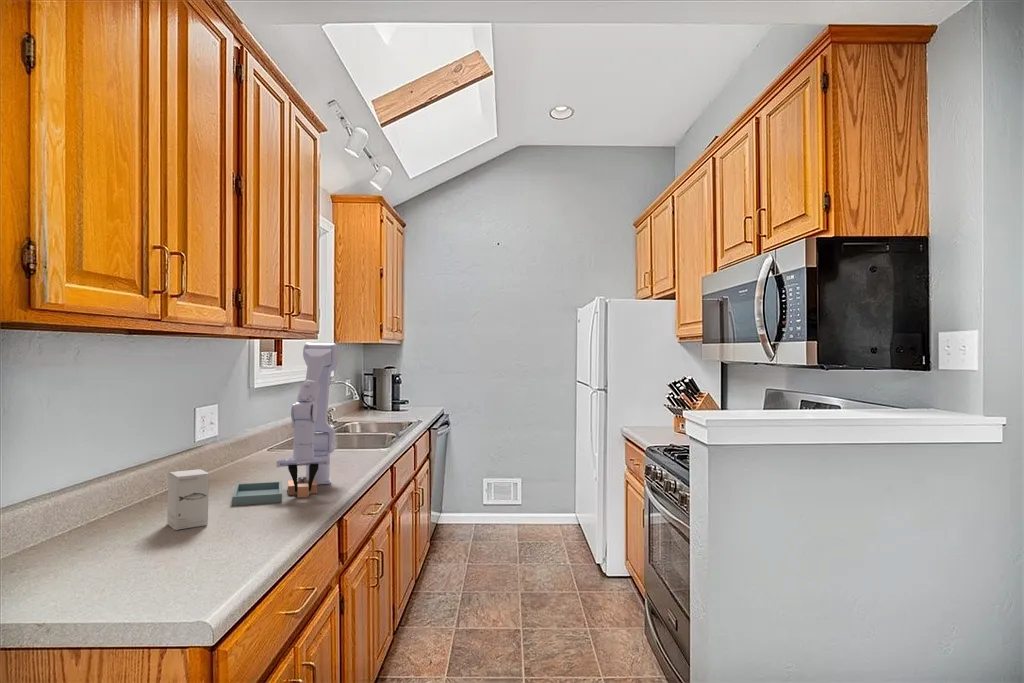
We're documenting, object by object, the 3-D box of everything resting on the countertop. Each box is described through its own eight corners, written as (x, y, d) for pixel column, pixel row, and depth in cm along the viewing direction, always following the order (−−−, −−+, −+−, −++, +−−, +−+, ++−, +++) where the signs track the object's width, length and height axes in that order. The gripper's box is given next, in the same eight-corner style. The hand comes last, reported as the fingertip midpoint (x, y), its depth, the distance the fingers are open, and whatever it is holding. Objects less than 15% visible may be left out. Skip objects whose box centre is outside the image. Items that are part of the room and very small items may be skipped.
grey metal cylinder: (297, 490, 190) (297, 476, 190) (306, 489, 191) (306, 476, 191) (297, 492, 188) (298, 478, 188) (306, 491, 188) (306, 478, 188)
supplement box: (174, 531, 147) (175, 476, 148) (166, 524, 153) (167, 471, 153) (208, 525, 152) (209, 472, 152) (199, 519, 158) (200, 468, 158)
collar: (287, 488, 192) (287, 478, 192) (315, 487, 194) (315, 477, 194) (288, 498, 180) (288, 487, 180) (317, 496, 183) (317, 485, 183)
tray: (236, 491, 187) (236, 483, 187) (281, 489, 191) (281, 481, 191) (232, 505, 171) (232, 496, 171) (281, 502, 176) (282, 493, 176)
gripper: (276, 446, 177) (276, 495, 177) (330, 444, 182) (329, 492, 182) (277, 442, 184) (276, 489, 184) (329, 441, 189) (328, 486, 189)
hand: (302, 490), depth 184 cm, fingers closed on collar, 3 cm apart
